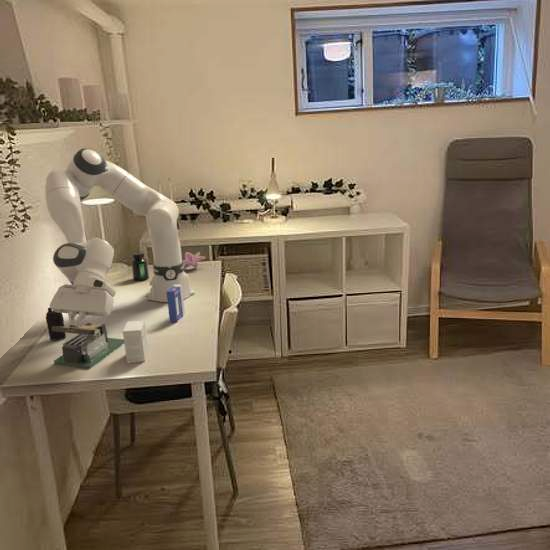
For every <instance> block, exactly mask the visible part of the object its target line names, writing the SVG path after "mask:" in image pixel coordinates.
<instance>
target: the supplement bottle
mask: <svg viewBox="0 0 550 550" xmlns="http://www.w3.org/2000/svg"><path fill="white" fill-rule="evenodd" d="M130 264H131V270H132V276H133V281H134V282H145V281H147V280H149V278H150V274H149V267H148V265H149V264H148V259H146V258H145V253H144V252H142V251H139V252H134V253H132V260H131V262H130Z"/></svg>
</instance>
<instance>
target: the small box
mask: <svg viewBox="0 0 550 550" xmlns="http://www.w3.org/2000/svg"><path fill="white" fill-rule="evenodd" d="M122 335H123V339H124V344H123V345H124V349H125V357H126V363H128V364H130V363H140V362H141V363H142V362H145V361H146V359H147V355H148V353H149V344H148V337H147V336H148V335H147V329H146V321H145V320H135V321H134V320H133V321H127V322H126V324H125V326H124V328H123V331H122Z"/></svg>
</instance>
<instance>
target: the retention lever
mask: <svg viewBox="0 0 550 550" xmlns="http://www.w3.org/2000/svg"><path fill="white" fill-rule="evenodd" d="M99 326H100V325H93V324H91V325H88V326H84V325H82V326H81V325H79V327H78V328H76V327H69V326H64V327H61V326H52V331H55V332H65V334H66V333H67V334H75V335H77V334H85V335H93V334H94V335H96V331H97V330H99V331H100V329H99Z"/></svg>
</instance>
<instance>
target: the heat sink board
mask: <svg viewBox="0 0 550 550" xmlns="http://www.w3.org/2000/svg"><path fill="white" fill-rule="evenodd" d="M88 325H92V323H91V322H87V323H85V324H84V325H83V326H88ZM98 326H99V333H98V332H97V333H95V334H93V335H85V334H75V335H73V337H71V338H70V339H68V340H66V341H65V342H63V343H62V346H61V349H62V352H61V353H62V355H60V356H59V357H57V358H56V359H54V360H53V363H54V365H56V364H58V365H57V366H65V365H68V366H67V367H73V366H76V367H75V368H81V367H83V369H89V368H90V369H92V368H93V367H94V366H96V365H97V364H98V362H99V361H100V362H102V361H103V360H104V359H105V358H107V357H108V356H110V355H111V354H112V353H113V352H115V351H116V350H118V349H119V348H121V347H122V346H123V345H125V344H124V338H123V339H122V338H113V337H108V332H107V325H106V323H102V324H100V325H98ZM122 344H123V345H122ZM121 345H122V346H121ZM114 350H115V351H114ZM110 353H111V354H110ZM106 356H107V357H106ZM102 359H103V360H102ZM100 362H99V363H100ZM95 364H96V365H95ZM92 366H93V367H92ZM91 367H92V368H91Z"/></svg>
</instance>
